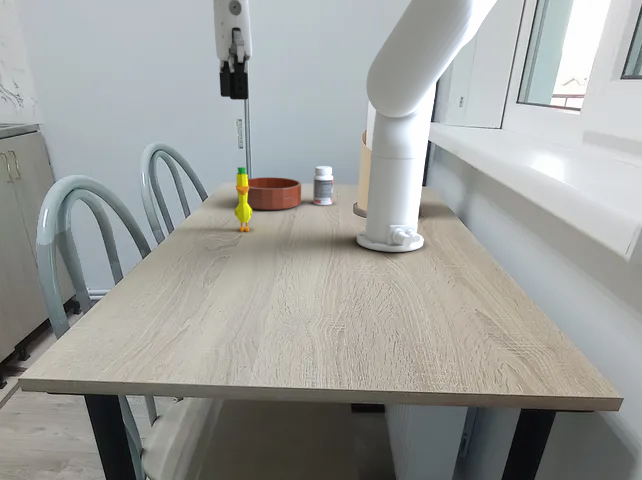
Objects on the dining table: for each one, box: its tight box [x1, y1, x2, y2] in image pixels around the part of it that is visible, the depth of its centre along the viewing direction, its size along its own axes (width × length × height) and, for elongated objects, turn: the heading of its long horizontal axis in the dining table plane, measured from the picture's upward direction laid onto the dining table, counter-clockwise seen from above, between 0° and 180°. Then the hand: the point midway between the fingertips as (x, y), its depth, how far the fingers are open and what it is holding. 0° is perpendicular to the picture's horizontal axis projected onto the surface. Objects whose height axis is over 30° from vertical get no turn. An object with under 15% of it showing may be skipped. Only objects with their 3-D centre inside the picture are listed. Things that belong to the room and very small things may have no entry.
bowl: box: [236, 176, 302, 211], centre depth 127 cm, size 15×15×5 cm
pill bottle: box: [312, 165, 334, 206], centre depth 128 cm, size 5×5×8 cm
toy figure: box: [233, 166, 253, 233], centre depth 105 cm, size 7×4×12 cm, turn 7°
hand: (234, 98), depth 97 cm, fingers open, 9 cm apart
